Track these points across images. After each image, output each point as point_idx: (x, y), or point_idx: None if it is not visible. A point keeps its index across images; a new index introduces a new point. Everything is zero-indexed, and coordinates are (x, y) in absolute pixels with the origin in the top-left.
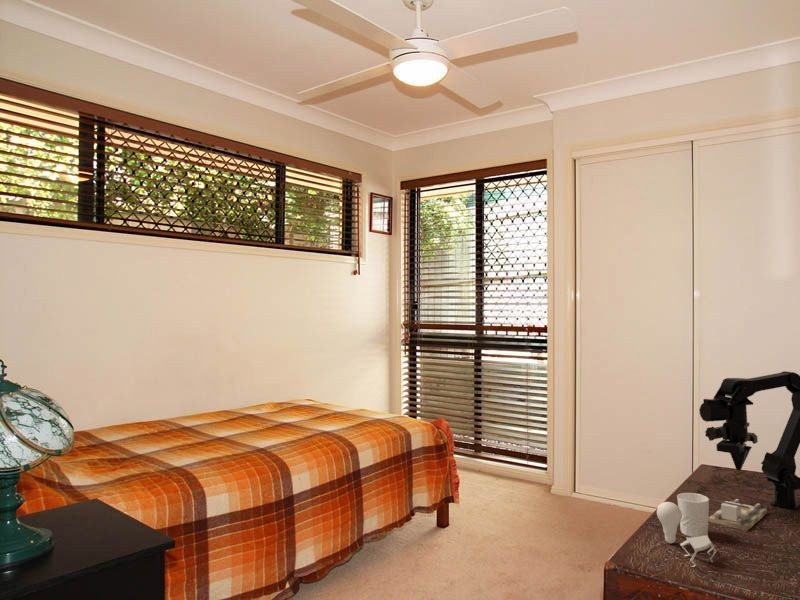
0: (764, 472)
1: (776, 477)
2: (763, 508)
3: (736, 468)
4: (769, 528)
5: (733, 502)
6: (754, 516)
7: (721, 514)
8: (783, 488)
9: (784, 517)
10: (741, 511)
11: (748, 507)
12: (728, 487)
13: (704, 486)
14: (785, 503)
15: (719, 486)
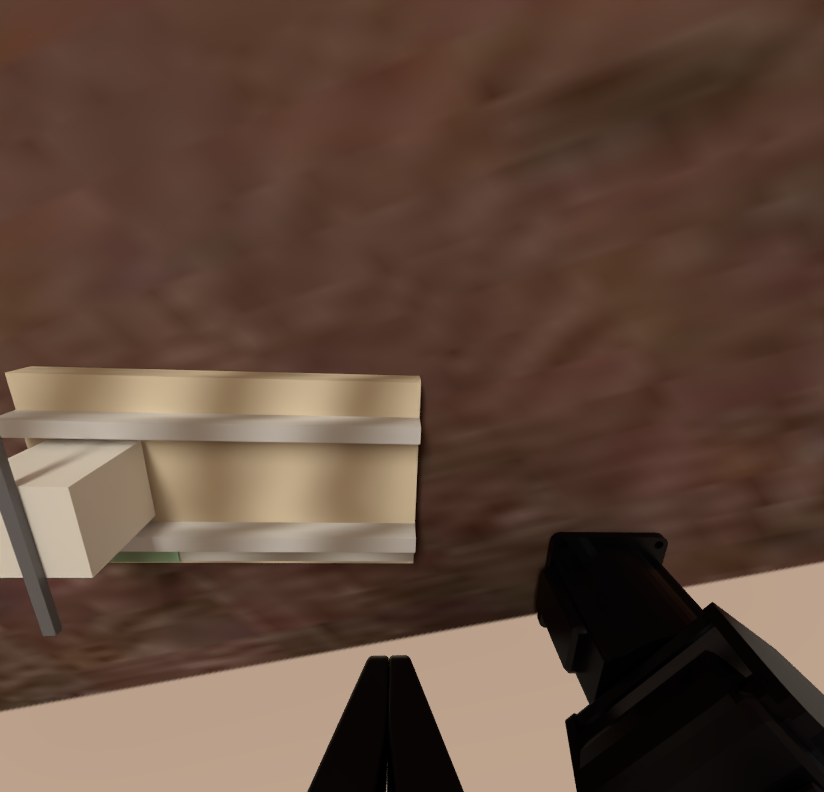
0: (703, 698)
1: (589, 778)
2: (405, 553)
3: (362, 678)
4: (202, 601)
5: (330, 436)
6: (240, 552)
7: (26, 450)
8: (593, 688)
9: (402, 610)
10: (276, 482)
11: (47, 634)
12: (805, 254)
13: (764, 83)
14: (543, 614)
15: (808, 190)
